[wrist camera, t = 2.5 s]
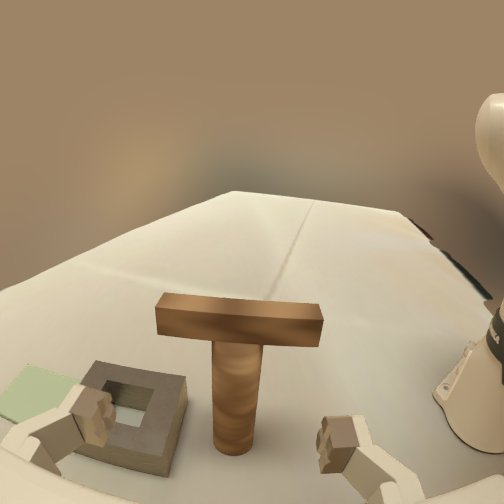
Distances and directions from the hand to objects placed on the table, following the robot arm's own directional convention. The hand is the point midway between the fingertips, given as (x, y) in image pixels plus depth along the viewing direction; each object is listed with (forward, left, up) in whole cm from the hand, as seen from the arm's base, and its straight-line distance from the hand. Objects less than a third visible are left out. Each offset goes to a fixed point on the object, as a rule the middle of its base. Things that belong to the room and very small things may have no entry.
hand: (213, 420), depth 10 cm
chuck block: (-1, -16, -18) cm, 24 cm away
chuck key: (-9, -8, -18) cm, 22 cm away
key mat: (+8, -25, -18) cm, 32 cm away
